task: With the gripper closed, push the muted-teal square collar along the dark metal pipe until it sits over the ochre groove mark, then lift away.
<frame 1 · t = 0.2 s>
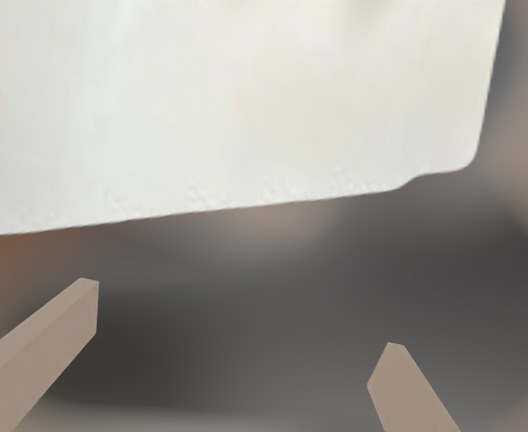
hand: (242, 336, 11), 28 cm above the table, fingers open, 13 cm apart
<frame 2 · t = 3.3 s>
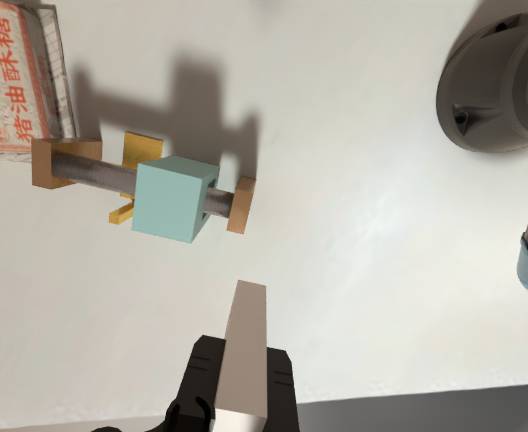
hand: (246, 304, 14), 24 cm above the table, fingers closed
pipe: (176, 178, 36), on the table
collar: (197, 183, 36), touching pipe
packaged product: (35, 93, 33), on the table
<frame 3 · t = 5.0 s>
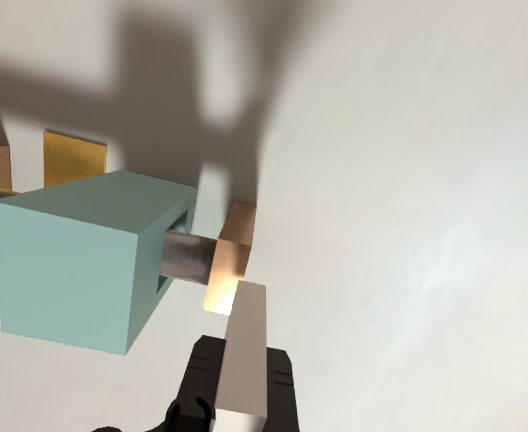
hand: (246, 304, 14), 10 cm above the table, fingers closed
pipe: (131, 203, 23), on the table
collar: (164, 211, 23), touching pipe
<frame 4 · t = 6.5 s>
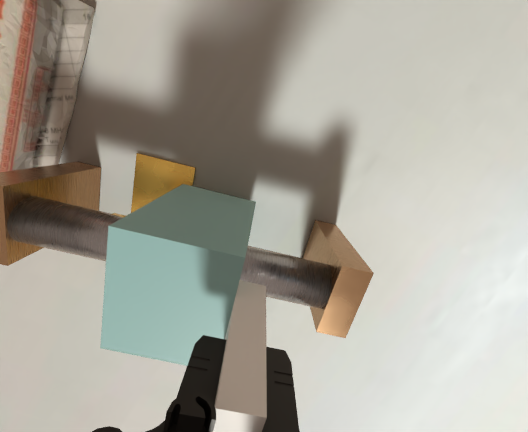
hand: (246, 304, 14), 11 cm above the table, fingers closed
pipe: (214, 221, 23), on the table
collar: (216, 222, 23), touching gripper, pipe
packaged product: (16, 98, 21), on the table
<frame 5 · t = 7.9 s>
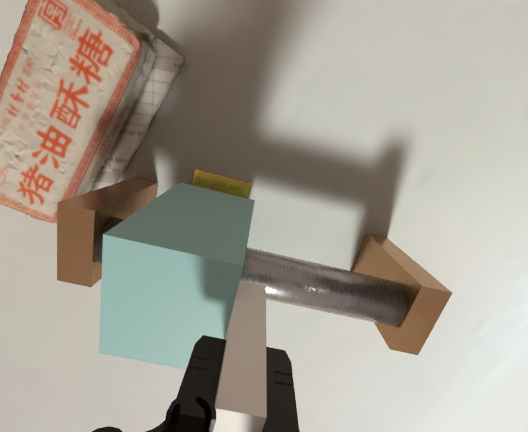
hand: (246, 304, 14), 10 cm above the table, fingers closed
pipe: (266, 235, 24), on the table
collar: (215, 220, 23), resting on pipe, touching gripper
packaged product: (84, 121, 21), on the table
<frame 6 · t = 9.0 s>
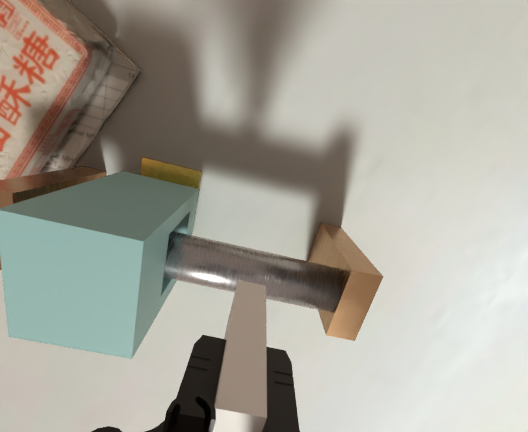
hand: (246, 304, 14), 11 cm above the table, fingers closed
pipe: (219, 225, 23), on the table
collar: (166, 211, 23), resting on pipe
packaged product: (34, 114, 21), on the table
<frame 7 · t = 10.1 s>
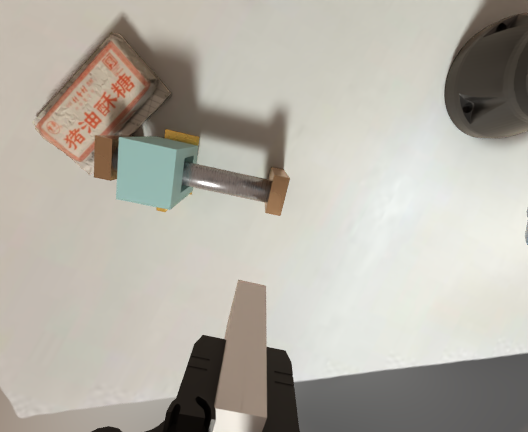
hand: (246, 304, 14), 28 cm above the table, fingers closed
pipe: (211, 170, 39), on the table
collar: (179, 163, 39), resting on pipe
packaged product: (107, 109, 37), on the table
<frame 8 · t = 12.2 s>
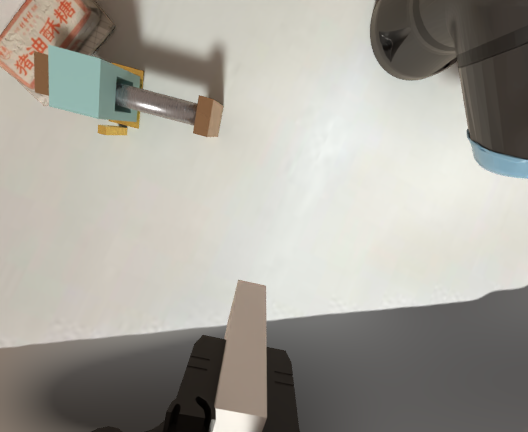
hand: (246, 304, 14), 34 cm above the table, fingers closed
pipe: (156, 104, 42), on the table
collar: (126, 96, 42), resting on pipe
packaged product: (58, 42, 40), on the table
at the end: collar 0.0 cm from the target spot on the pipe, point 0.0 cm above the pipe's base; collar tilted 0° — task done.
